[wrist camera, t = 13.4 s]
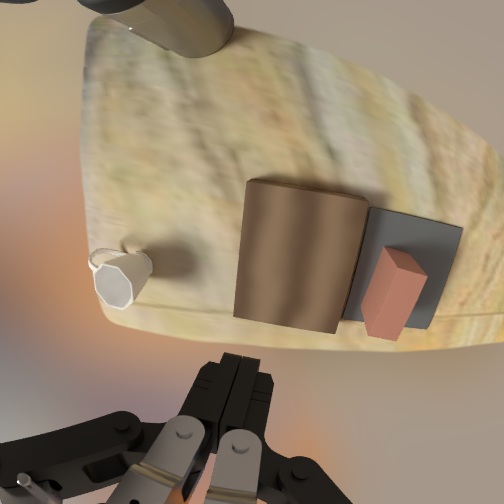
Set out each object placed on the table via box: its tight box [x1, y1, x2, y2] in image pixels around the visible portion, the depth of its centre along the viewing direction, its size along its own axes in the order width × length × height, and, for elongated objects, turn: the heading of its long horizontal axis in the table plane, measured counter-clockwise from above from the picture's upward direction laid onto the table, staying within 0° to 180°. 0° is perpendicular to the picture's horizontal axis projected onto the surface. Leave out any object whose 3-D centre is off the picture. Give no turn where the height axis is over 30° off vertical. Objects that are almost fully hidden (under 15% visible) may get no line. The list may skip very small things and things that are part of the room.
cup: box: [89, 248, 153, 310], centre depth 39 cm, size 7×10×8 cm
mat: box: [342, 207, 462, 329], centre depth 36 cm, size 14×16×1 cm
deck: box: [233, 179, 369, 334], centre depth 37 cm, size 14×18×3 cm
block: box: [360, 246, 428, 341], centre depth 33 cm, size 7×9×4 cm
